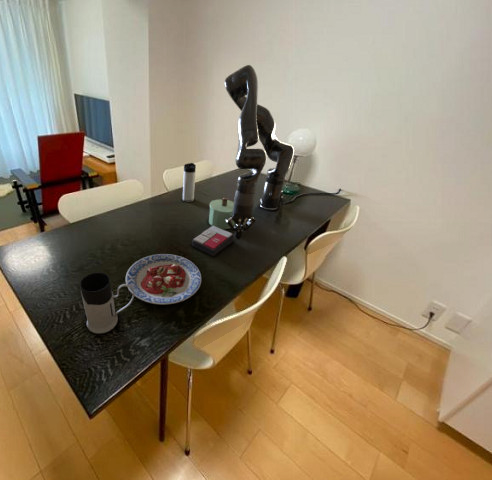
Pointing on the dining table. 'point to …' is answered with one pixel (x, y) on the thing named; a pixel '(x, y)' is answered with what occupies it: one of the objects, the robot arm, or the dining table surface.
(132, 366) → the dining table surface
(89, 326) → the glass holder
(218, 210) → the pot lid
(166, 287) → the ceramic plate
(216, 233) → the black square box
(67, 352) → the dining table surface
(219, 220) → the pot
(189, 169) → the travel mug
